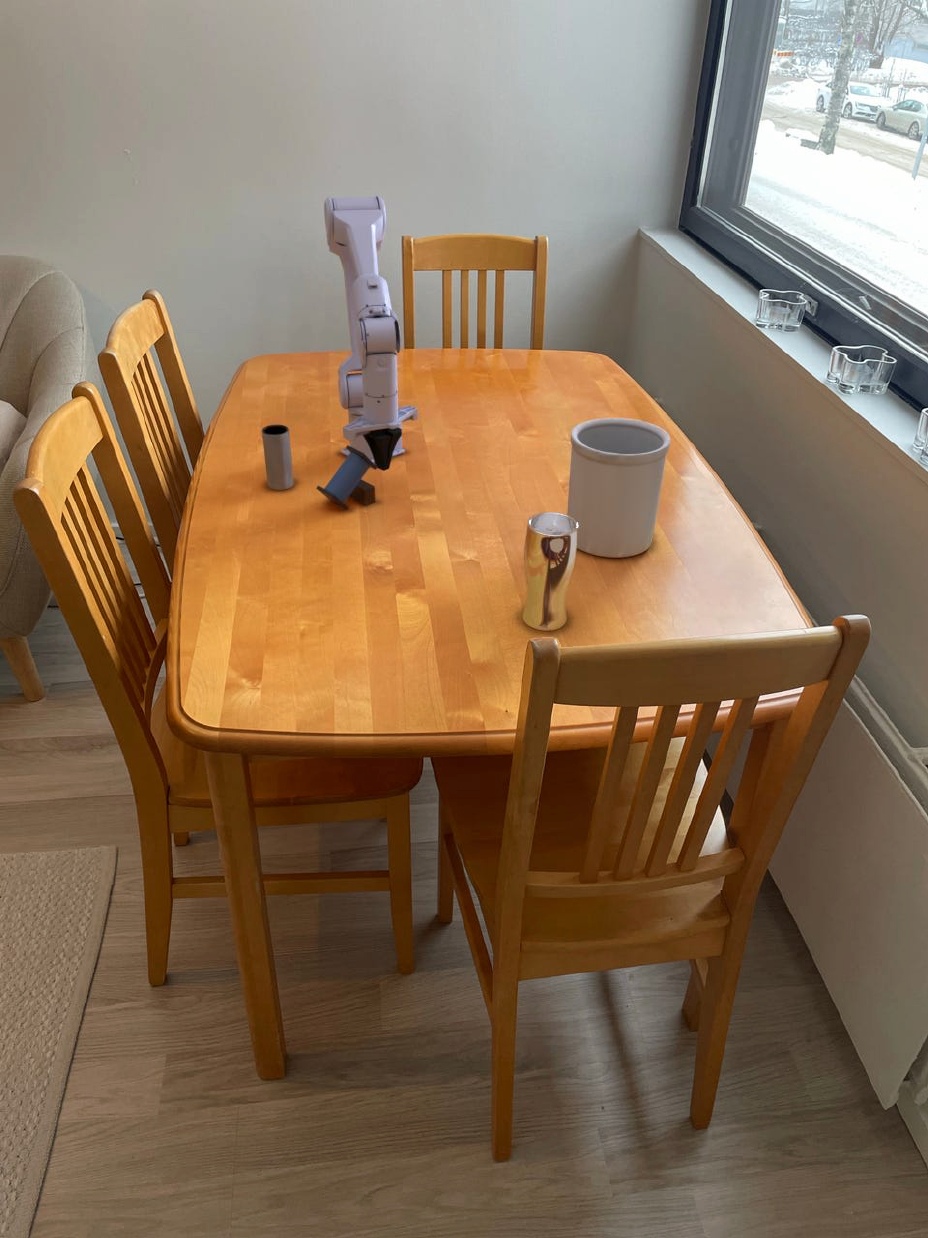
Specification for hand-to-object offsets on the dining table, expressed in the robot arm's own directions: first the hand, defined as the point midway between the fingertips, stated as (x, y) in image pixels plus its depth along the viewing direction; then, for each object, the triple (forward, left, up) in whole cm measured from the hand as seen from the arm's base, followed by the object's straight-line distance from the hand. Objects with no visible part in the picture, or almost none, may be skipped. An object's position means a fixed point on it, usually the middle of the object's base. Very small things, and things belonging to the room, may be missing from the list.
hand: (382, 468), depth 157 cm
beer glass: (+9, +46, -4) cm, 47 cm away
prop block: (+5, 0, -4) cm, 7 cm away
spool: (+8, 0, +1) cm, 8 cm away
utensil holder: (-16, +37, -4) cm, 41 cm away
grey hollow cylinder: (+12, -13, -4) cm, 19 cm away
